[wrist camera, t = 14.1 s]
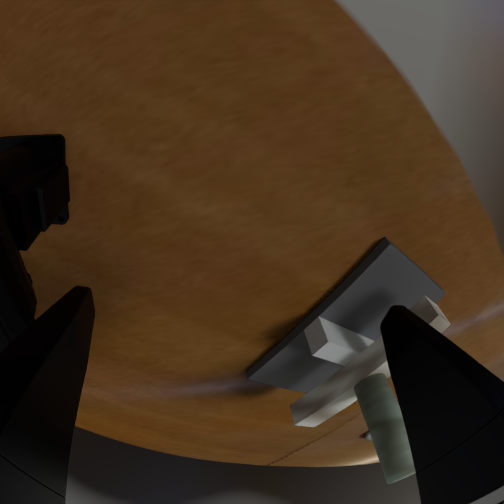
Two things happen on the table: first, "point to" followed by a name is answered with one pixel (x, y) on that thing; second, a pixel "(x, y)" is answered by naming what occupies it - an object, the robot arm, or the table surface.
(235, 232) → the table surface
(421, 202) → the table surface
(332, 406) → the bar
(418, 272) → the fulcrum stand
